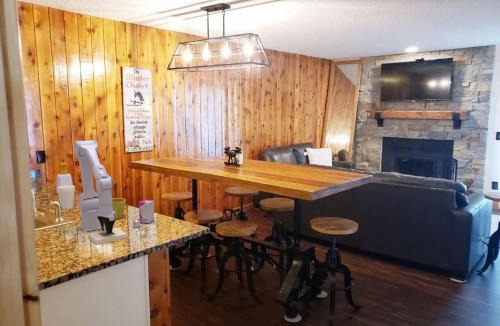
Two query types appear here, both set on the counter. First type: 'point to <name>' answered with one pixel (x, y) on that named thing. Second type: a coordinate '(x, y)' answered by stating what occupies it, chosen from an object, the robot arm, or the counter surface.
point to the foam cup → (66, 196)
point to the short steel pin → (136, 223)
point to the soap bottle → (63, 177)
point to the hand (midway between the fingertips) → (107, 232)
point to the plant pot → (118, 207)
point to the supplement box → (146, 211)
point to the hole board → (100, 238)
